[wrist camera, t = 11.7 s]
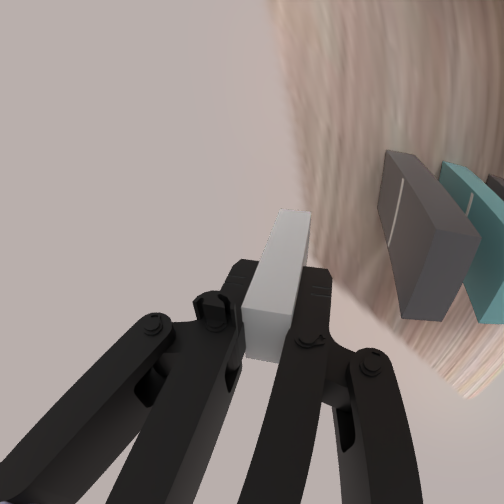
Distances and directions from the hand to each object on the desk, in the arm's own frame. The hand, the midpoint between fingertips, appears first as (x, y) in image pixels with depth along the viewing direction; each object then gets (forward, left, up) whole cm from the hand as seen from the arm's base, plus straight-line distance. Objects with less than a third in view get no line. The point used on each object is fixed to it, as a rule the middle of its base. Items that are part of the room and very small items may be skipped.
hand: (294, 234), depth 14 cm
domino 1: (0, +7, -10) cm, 12 cm away
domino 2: (0, +12, -10) cm, 15 cm away
